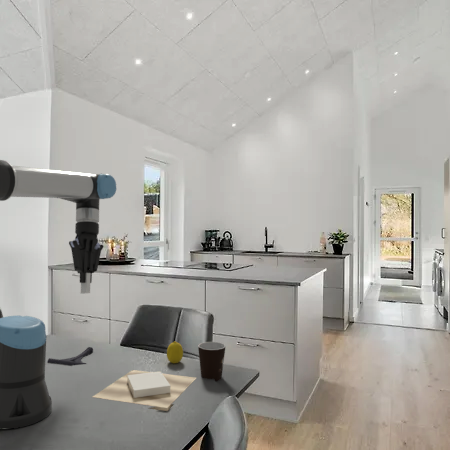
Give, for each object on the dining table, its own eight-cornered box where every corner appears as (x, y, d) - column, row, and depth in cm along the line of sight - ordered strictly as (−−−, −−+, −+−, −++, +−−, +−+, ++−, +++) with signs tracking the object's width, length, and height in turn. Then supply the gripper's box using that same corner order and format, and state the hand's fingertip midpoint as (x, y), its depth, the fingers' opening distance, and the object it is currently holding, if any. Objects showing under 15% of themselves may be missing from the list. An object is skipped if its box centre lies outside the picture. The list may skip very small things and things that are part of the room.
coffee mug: (215, 385, 120) (215, 351, 120) (192, 379, 125) (192, 346, 125) (235, 373, 130) (235, 342, 130) (212, 368, 134) (213, 338, 134)
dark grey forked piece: (108, 355, 148) (108, 348, 148) (83, 368, 134) (83, 360, 134) (75, 352, 152) (75, 344, 152) (47, 364, 138) (47, 356, 138)
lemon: (186, 364, 137) (186, 341, 138) (173, 368, 133) (174, 344, 133) (175, 361, 141) (176, 338, 141) (163, 364, 137) (163, 341, 137)
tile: (127, 375, 119) (134, 390, 108) (160, 371, 123) (170, 385, 111) (127, 382, 119) (133, 398, 108) (160, 378, 123) (170, 393, 111)
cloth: (167, 411, 102) (167, 408, 102) (92, 399, 108) (92, 396, 108) (196, 380, 123) (196, 377, 123) (132, 372, 129) (132, 369, 130)
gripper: (94, 227, 143) (92, 294, 139) (63, 221, 132) (60, 293, 128) (109, 224, 140) (108, 292, 135) (79, 217, 129) (77, 292, 124)
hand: (85, 293), depth 131 cm, fingers closed
